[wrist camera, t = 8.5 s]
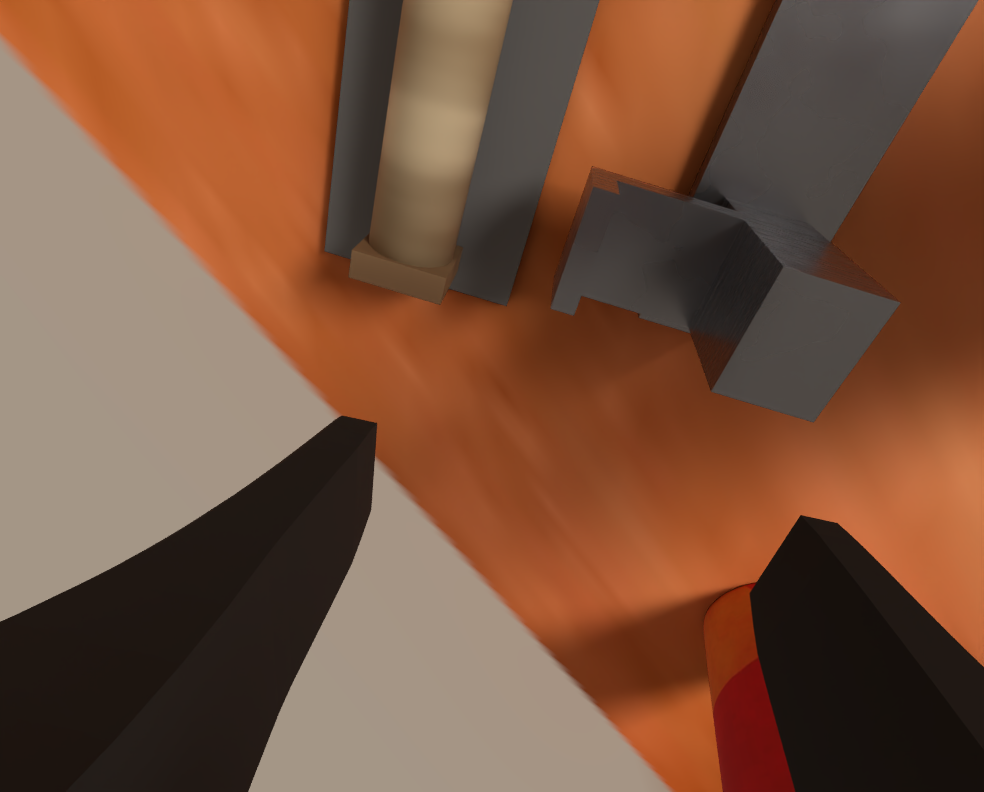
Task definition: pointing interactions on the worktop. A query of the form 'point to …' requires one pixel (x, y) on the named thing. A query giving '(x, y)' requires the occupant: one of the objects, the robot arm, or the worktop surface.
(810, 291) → the hook standards
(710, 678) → the paper cup
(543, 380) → the worktop surface
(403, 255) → the tan wooden rod
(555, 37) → the mat
